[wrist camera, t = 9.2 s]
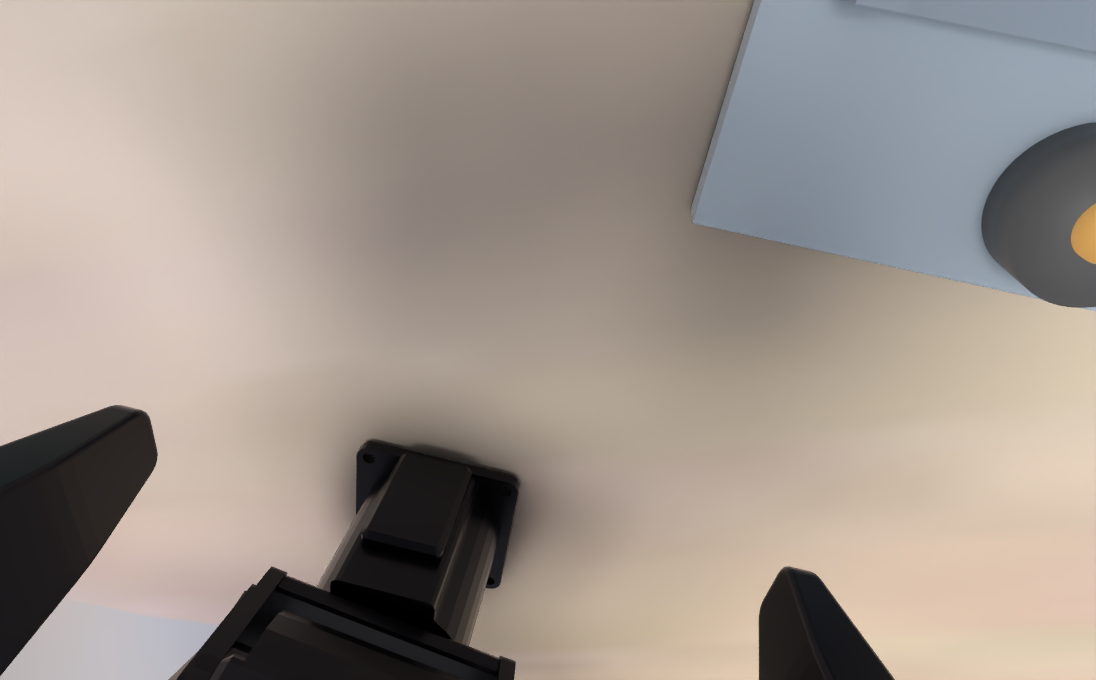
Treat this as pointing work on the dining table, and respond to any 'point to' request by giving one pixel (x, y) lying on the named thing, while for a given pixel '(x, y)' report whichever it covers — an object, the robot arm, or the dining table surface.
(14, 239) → the dining table surface
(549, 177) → the dining table surface
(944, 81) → the chassis
